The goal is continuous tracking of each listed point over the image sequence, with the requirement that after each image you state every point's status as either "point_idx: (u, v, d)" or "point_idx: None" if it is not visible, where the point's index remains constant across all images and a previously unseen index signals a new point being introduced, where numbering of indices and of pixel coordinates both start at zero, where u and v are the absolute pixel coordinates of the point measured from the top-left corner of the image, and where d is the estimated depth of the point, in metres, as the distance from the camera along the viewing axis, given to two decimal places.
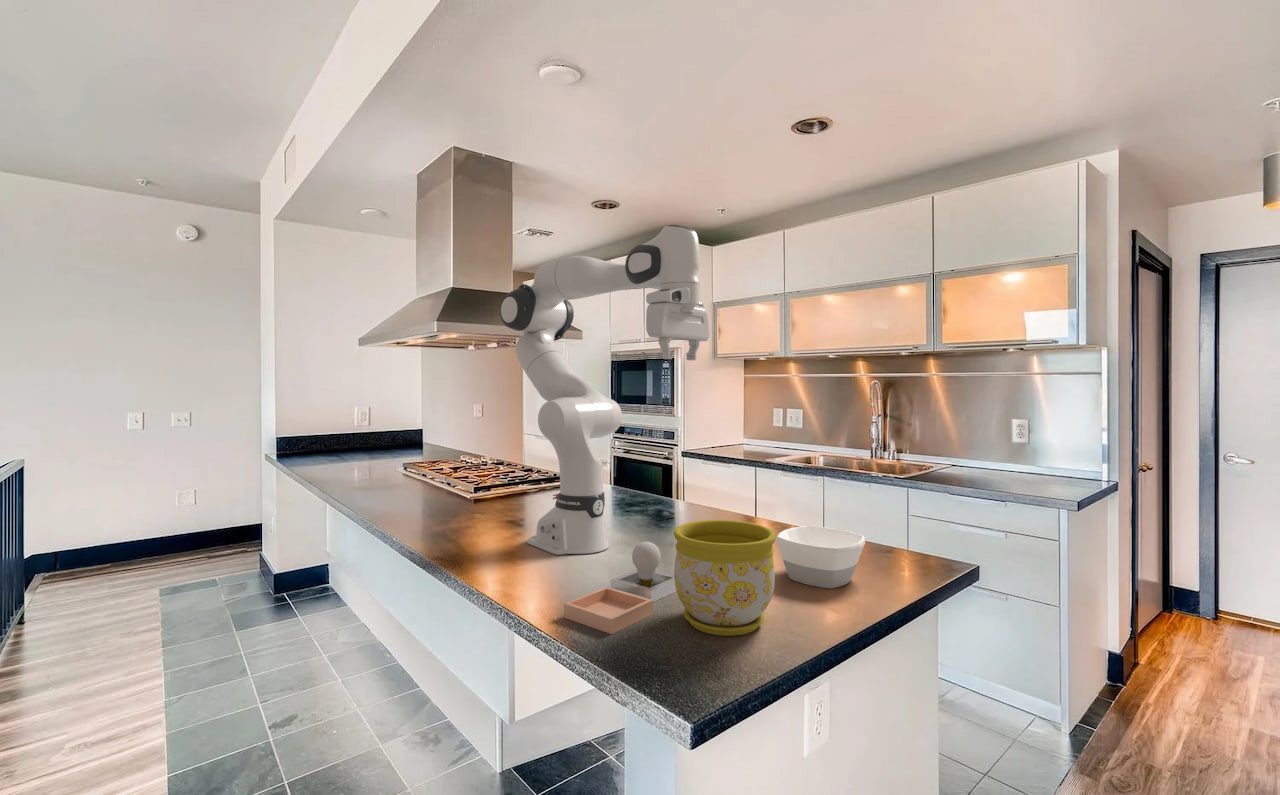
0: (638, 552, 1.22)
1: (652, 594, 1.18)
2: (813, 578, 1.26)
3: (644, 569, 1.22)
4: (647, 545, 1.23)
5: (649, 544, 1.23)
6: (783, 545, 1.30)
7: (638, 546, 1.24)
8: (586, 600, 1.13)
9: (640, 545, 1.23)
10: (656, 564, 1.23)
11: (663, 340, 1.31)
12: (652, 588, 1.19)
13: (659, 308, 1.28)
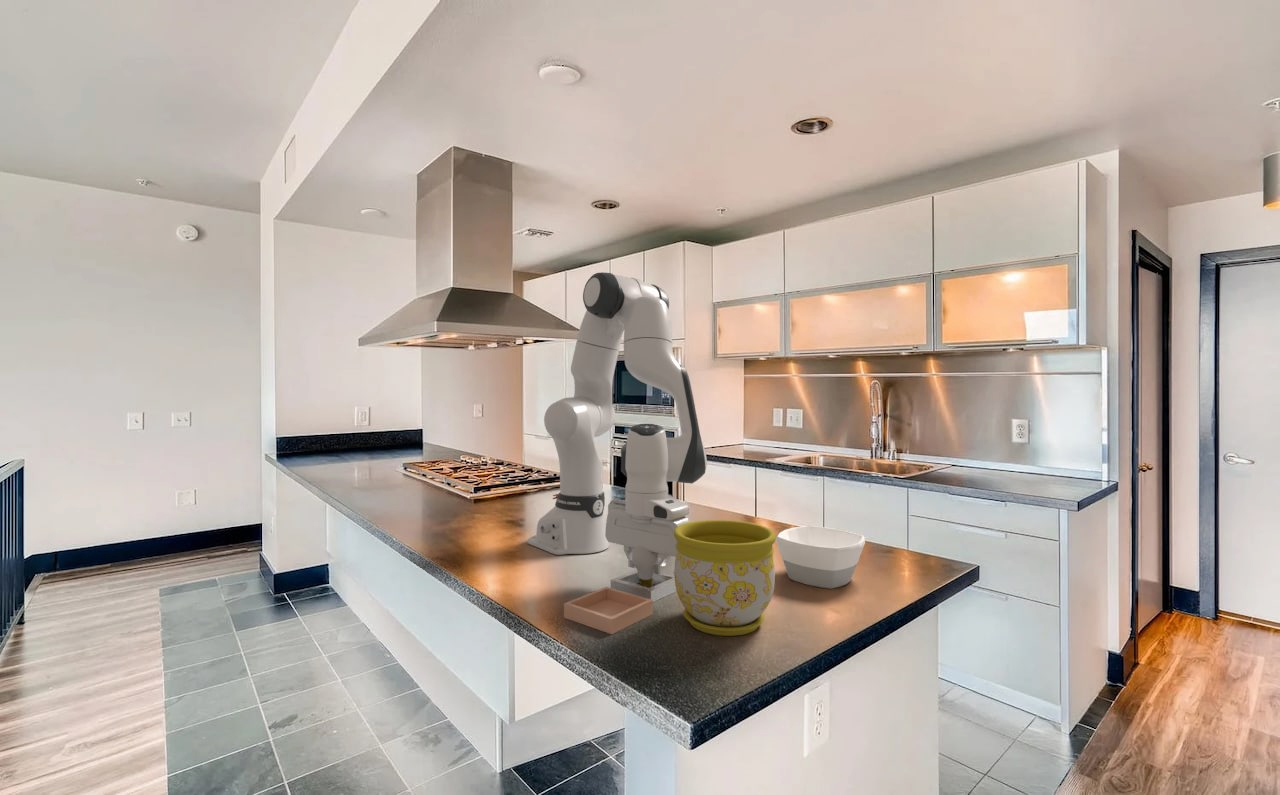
0: (638, 552, 1.22)
1: (652, 594, 1.18)
2: (813, 578, 1.26)
3: (644, 569, 1.22)
4: None
5: None
6: (783, 545, 1.30)
7: None
8: (586, 600, 1.13)
9: None
10: (656, 564, 1.23)
11: (668, 556, 1.21)
12: (652, 588, 1.19)
13: None
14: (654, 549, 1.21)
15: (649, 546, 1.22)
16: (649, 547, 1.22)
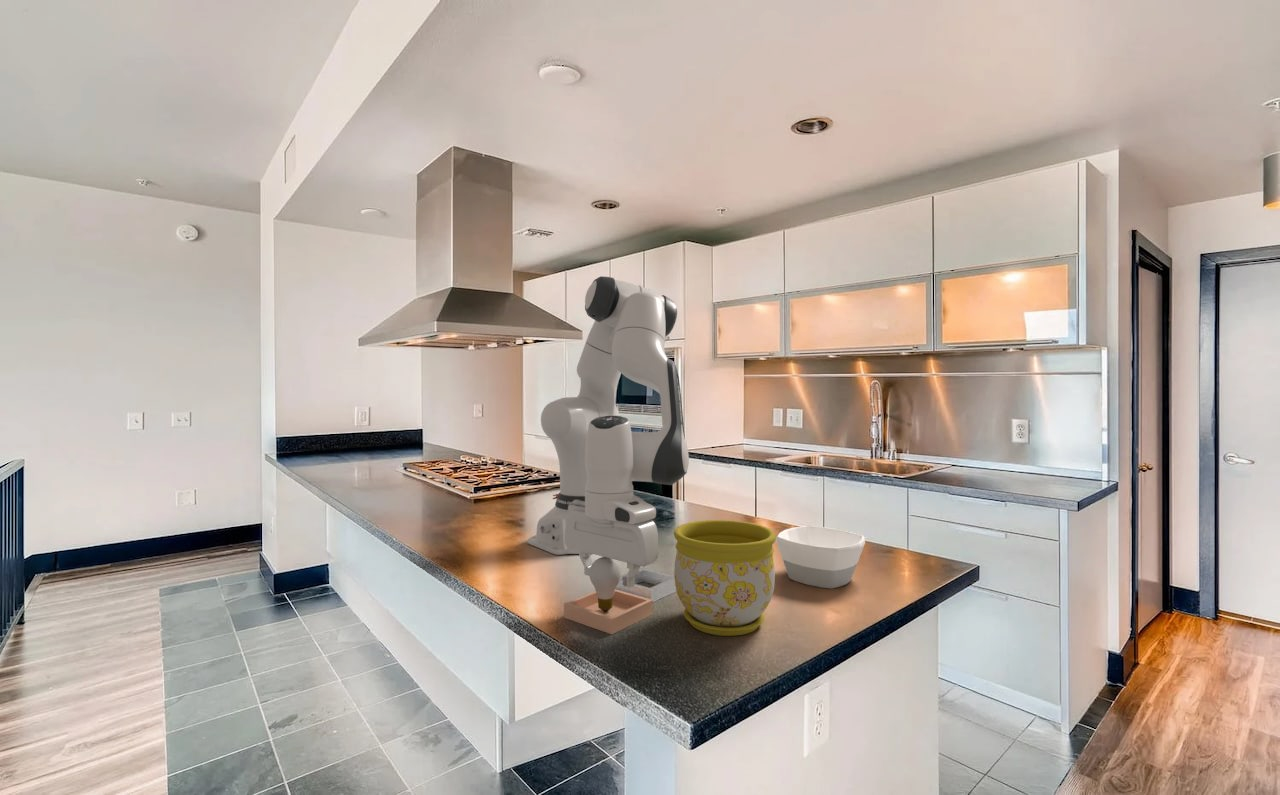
0: (596, 569, 1.09)
1: (652, 594, 1.18)
2: (813, 578, 1.26)
3: (602, 588, 1.09)
4: (606, 561, 1.10)
5: (608, 560, 1.11)
6: (783, 545, 1.30)
7: (596, 562, 1.11)
8: (586, 600, 1.13)
9: (598, 561, 1.11)
10: (616, 582, 1.10)
11: (637, 565, 1.07)
12: (652, 588, 1.19)
13: (654, 530, 1.06)
14: (616, 556, 1.07)
15: (611, 553, 1.08)
16: (611, 554, 1.08)
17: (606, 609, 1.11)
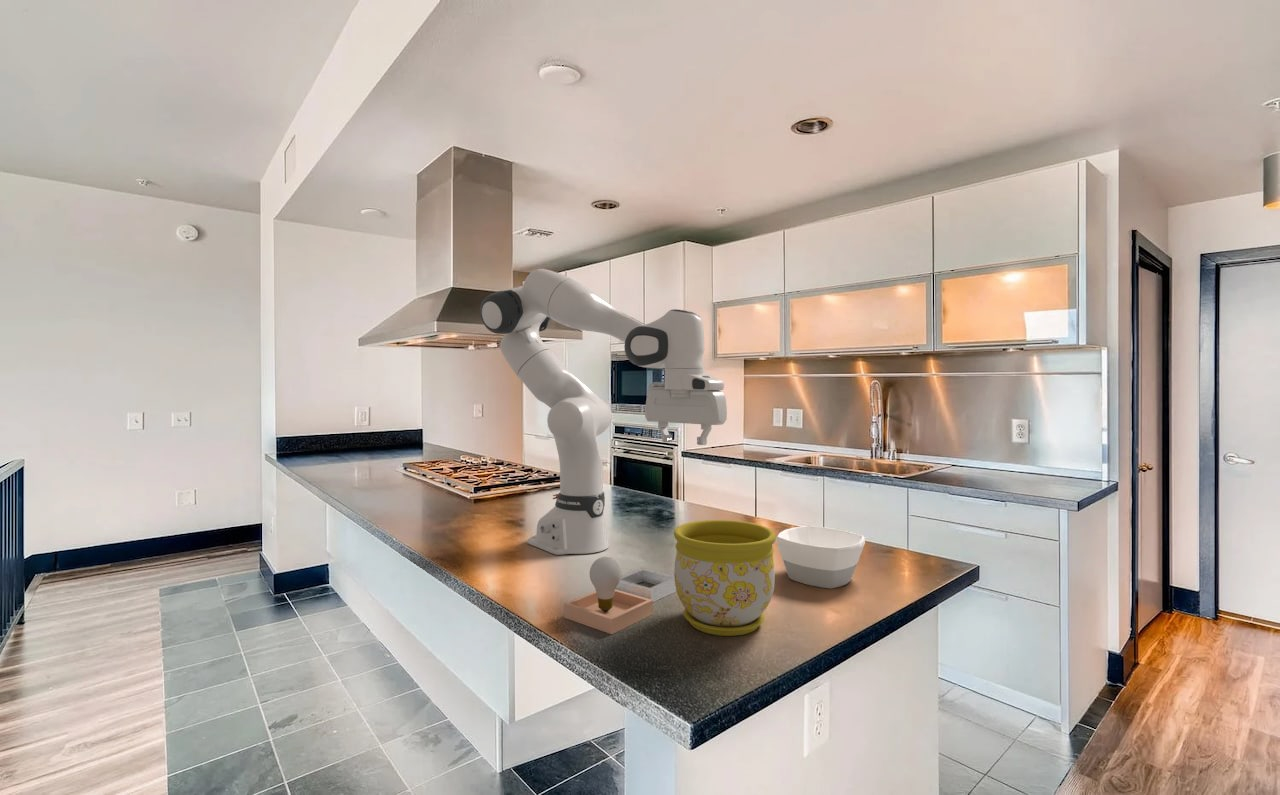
0: (596, 569, 1.09)
1: (652, 594, 1.18)
2: (813, 578, 1.26)
3: (602, 587, 1.09)
4: (606, 561, 1.10)
5: (608, 560, 1.11)
6: (783, 545, 1.30)
7: (596, 562, 1.11)
8: (586, 600, 1.13)
9: (598, 561, 1.11)
10: (616, 582, 1.10)
11: (709, 427, 1.32)
12: (652, 588, 1.19)
13: (723, 397, 1.31)
14: (692, 420, 1.32)
15: (687, 418, 1.33)
16: (687, 419, 1.33)
17: (606, 609, 1.11)
